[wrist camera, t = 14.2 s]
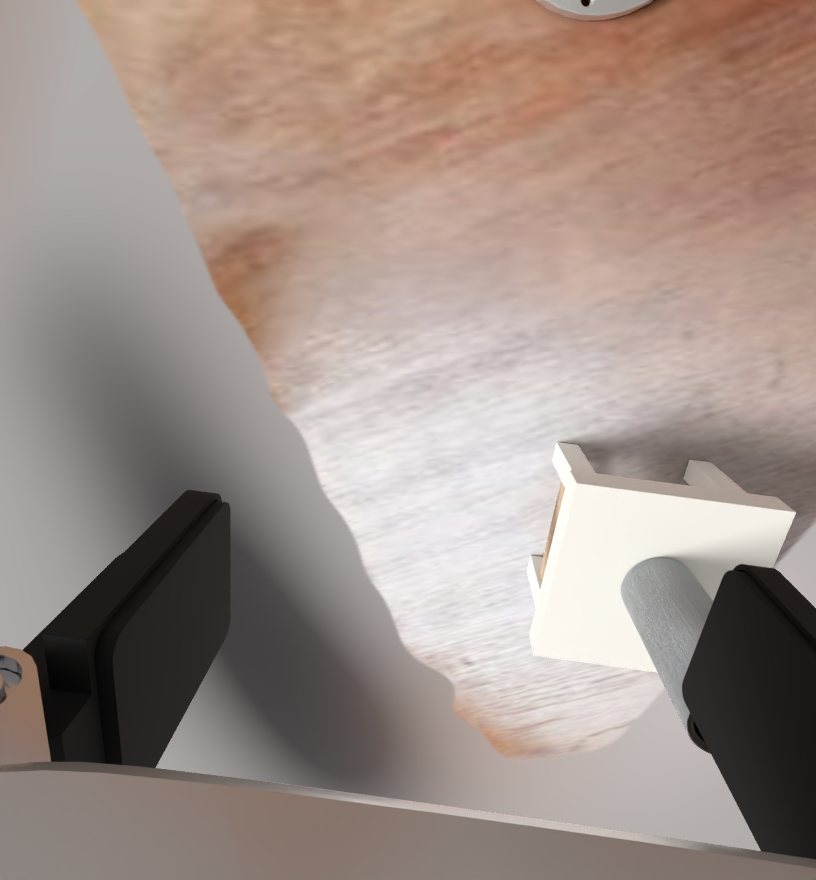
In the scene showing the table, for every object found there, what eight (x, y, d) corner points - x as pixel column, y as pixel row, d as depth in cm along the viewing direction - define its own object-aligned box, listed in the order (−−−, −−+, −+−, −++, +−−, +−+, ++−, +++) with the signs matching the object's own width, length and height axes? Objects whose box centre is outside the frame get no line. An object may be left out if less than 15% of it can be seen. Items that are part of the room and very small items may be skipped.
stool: (549, 432, 41) (576, 483, 32) (723, 454, 41) (796, 512, 32) (516, 577, 45) (533, 655, 37) (672, 598, 45) (724, 681, 37)
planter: (709, 582, 34) (813, 718, 25) (656, 627, 36) (734, 773, 26) (657, 543, 33) (743, 667, 24) (604, 591, 35) (665, 726, 25)
